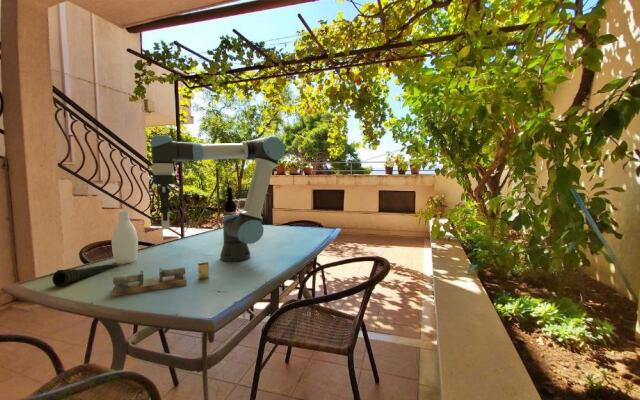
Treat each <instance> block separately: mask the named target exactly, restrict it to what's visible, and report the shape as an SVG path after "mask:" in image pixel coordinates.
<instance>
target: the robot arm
mask: <svg viewBox="0 0 640 400" xmlns="http://www.w3.org/2000/svg"><path fill="white" fill-rule="evenodd" d="M150 140H151V144H150V145H151V146H150V150H151V162H152V165H150V168H151V169H152V174H153V175H152V183H153V184H154V185H160V186H159V188H158V194H159V195H158V196H159V197H158V198H159V199H160V210H158V212H159V213H160V217H161V219H160V221H161V230H168V229H169V230H170V227H171V226H170V224H171V223H170V209H171V205H169V199H170V193H171V191H170V188H168V187H169V186H168V185H173V184H175V176H174V169H175V167H174V161H175V162H178V163H180V162H192V161H193V162H196V161H207V160H208V161H209V160H226V159H227V160H228V159H230V160H231V159H241V160H243V161H245V160H246V161H247V160H248V161H249V160H251V161H254V162H255V168H254V171H253V174H252V178H251V182H250V185H249V188H248V192H247V195H246V199H245V203H244V207H243V210H241V211H240V212H239V213H238V214H225V215H224V216H223V219H222V225H223V227H222V228H223V229H222V230H223V231H222V233H223V245H222V248H221V252H220V255H219V256H220V260H221V261H223V262H224V261H225V262H232V263H233V262H241V261H246V260H248V259H250V258H251V252H250V249H249V245H252V244H255V243H257V242H258V241H260V240H261V239H262V237H263V236H264V235H263V234H264V226H263V224H262V222H263V216H262V211H263V206H264V203H265V199H266V196H267V193H268V188H269V185H270V180H271V177H272V174H273V169H275V168H276V167H278V164H279V160H281V159H282V158H283V157H284V156H285V153H286V147H285V144H284V141H282V139H281V138H280V137H278V136H275V135H267V136H265V137H259V138H256V139H251V140H242V141H241V142H239V143H238V142H237V143H235V142H234V143H232V142H231V143H200V142H194V141H193V142H191V141H190V142H189V141H174V140H173V138H172V136H171V135H165V134H164V135H163V134H157V135H155V134H154V135H152V137H151V139H150Z"/></svg>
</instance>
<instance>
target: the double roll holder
mask: <svg viewBox="0 0 640 400" xmlns="http://www.w3.org/2000/svg"><path fill="white" fill-rule="evenodd" d="M158 271H159V275H158V277H157V276H156V277H150V278H144V270H140V271H139V273H134V274H126V275H125V274H124V275H117V276H113V278H112V283H113V284H112V285H114V286H113V288H112V292H111V293H112V297H117V296H125V295H131V294H136V293H137V294H138V293H144V292H150V291H157V290H158V291H159V290H162V289H164V290H165V289H170V288H177V287H184V286H187V283H188V282H187V277H186V267H185V266H182V267H176V268H175V267H174V268H166V269H163V268H162V267H160V268H159V270H158Z"/></svg>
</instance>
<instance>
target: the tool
mask: <svg viewBox="0 0 640 400" xmlns="http://www.w3.org/2000/svg"><path fill="white" fill-rule="evenodd" d="M117 267H119V264H103V265H96V266H90V267H85V268H79V269H75V268H72V269H59V270H56V271H55V272H54V274H53V276H52V278H51V279H52V283H53V284H54V285H55V287H56V288H63V286H64V287H66V286H67V285H69V284H71V283H74V282H76V281H78V280H81V279H85V278H88V277H92V276H94V275H98V274H100V273H104V272H107V271H110V270H113V269H115V268H117Z"/></svg>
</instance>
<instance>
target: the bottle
mask: <svg viewBox="0 0 640 400" xmlns="http://www.w3.org/2000/svg"><path fill="white" fill-rule="evenodd" d="M117 212H118V221H117V223H116V224H115V227H114V228H113V231H112V234H111V239H110V241H111V248H112V249H111V251H112V256H113V260H114V263H115V264H116V265H122V264H123V265H125V264H130V263H134V262H136V261H137V259H138V257H137V256H138V252H139V238H138V232H137V229H136V228H135V225H134V224H133V223H132V222H131V220H130V210H128V209H127V210H126V209H125V210H118V211H117Z"/></svg>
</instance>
